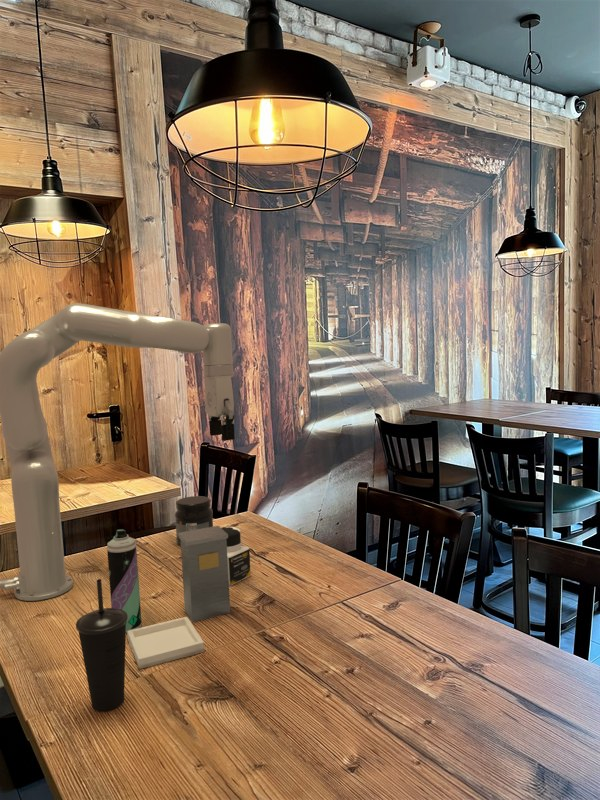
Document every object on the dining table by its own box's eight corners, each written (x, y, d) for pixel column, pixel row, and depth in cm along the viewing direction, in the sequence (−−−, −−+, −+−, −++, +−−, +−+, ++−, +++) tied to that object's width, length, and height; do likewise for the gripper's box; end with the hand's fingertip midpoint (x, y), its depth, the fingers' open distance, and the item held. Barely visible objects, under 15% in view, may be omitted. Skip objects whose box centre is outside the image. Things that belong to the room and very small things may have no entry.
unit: (191, 623, 119) (186, 541, 117) (183, 610, 124) (178, 532, 123) (232, 613, 122) (228, 534, 121) (222, 601, 128) (218, 525, 126)
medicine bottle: (230, 586, 136) (227, 535, 134) (208, 580, 140) (205, 530, 139) (251, 576, 141) (249, 527, 140) (229, 570, 146) (227, 522, 144)
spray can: (107, 632, 116) (99, 533, 114) (123, 619, 121) (116, 524, 119) (131, 635, 114) (124, 535, 112) (146, 622, 120) (140, 526, 118)
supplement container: (202, 533, 175) (200, 493, 174) (221, 541, 167) (218, 500, 166) (170, 541, 169) (167, 500, 167) (187, 551, 160) (184, 507, 159)
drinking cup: (115, 682, 99) (106, 566, 97) (143, 698, 94) (134, 577, 92) (72, 705, 93) (62, 582, 91) (100, 724, 88) (90, 594, 86)
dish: (139, 669, 102) (138, 659, 102) (127, 639, 113) (127, 630, 113) (204, 651, 107) (203, 642, 107) (187, 625, 118) (187, 616, 118)
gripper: (194, 371, 158) (198, 434, 160) (215, 373, 143) (218, 443, 145) (221, 370, 162) (224, 432, 163) (244, 371, 146) (247, 440, 148)
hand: (222, 437), depth 154 cm, fingers open, 9 cm apart
